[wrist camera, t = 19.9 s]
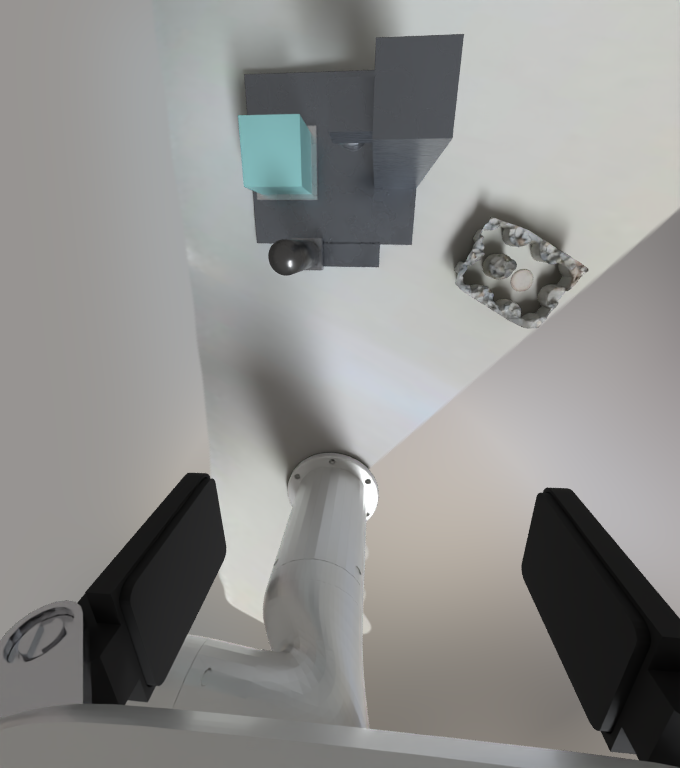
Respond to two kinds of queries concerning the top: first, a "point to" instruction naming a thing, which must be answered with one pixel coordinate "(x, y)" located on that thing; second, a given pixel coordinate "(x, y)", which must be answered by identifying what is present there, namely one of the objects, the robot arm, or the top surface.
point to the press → (362, 145)
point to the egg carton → (519, 273)
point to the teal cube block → (275, 153)
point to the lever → (296, 255)
